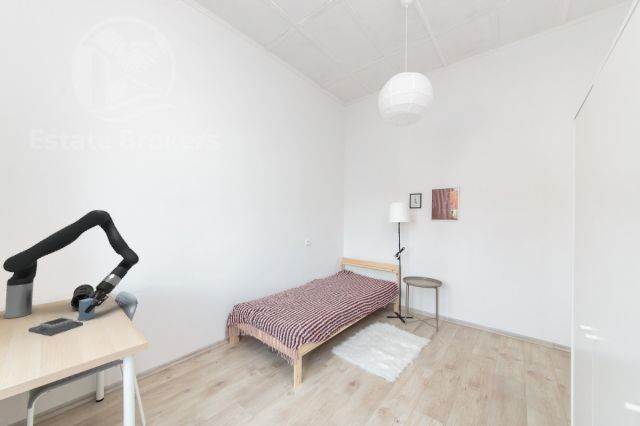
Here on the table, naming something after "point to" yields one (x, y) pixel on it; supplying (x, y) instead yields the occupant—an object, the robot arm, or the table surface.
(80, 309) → the peg
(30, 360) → the table surface
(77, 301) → the muzzle brake
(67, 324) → the grey metal socket plate
